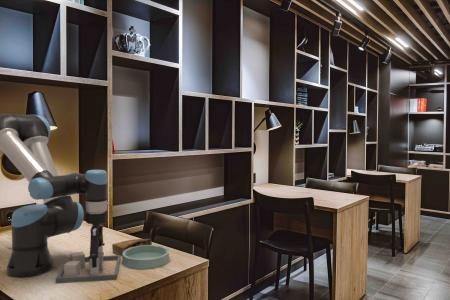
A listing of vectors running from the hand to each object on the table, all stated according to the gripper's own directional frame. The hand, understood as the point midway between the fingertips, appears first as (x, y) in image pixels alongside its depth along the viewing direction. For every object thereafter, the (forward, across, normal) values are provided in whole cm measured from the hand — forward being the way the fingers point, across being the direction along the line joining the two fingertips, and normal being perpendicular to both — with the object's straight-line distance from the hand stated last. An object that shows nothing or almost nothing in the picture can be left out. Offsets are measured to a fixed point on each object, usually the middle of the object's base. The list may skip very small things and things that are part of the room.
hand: (96, 269), depth 141 cm
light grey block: (0, -5, +8) cm, 9 cm away
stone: (+1, +19, -12) cm, 23 cm away
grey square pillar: (0, 0, 0) cm, 0 cm away
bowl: (0, +7, -18) cm, 19 cm away
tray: (0, 0, +2) cm, 2 cm away
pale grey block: (0, +5, +8) cm, 9 cm away
